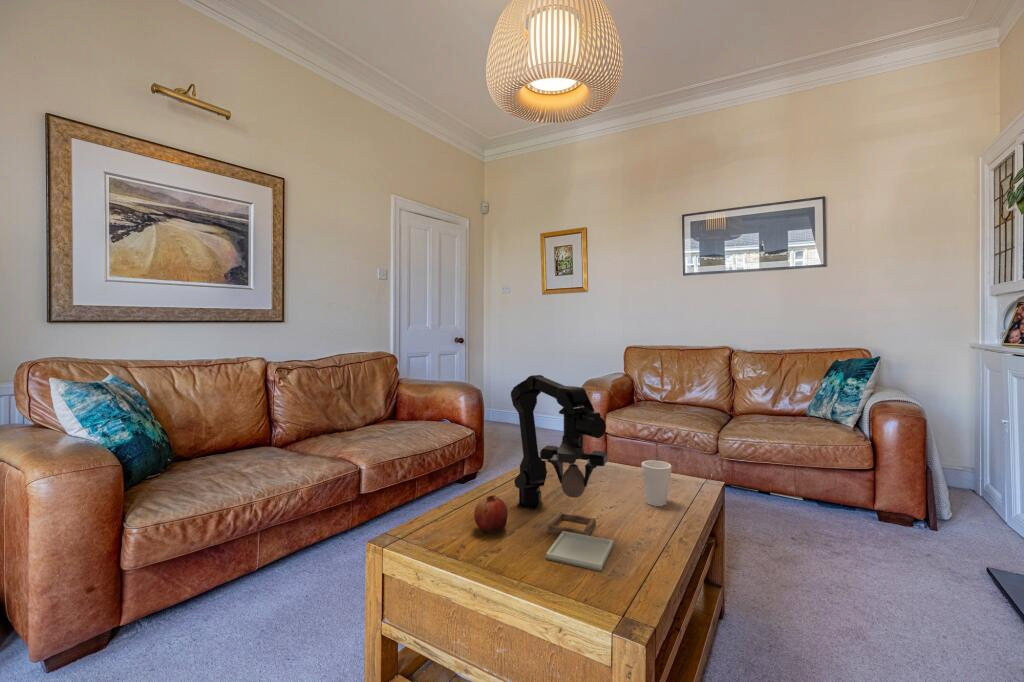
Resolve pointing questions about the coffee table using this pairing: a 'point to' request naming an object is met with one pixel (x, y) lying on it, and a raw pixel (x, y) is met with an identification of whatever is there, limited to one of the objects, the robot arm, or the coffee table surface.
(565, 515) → the holder
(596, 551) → the tray
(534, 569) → the coffee table surface
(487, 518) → the fruit
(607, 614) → the coffee table surface
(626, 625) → the coffee table surface
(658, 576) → the coffee table surface
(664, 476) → the foam cup
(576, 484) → the vase
